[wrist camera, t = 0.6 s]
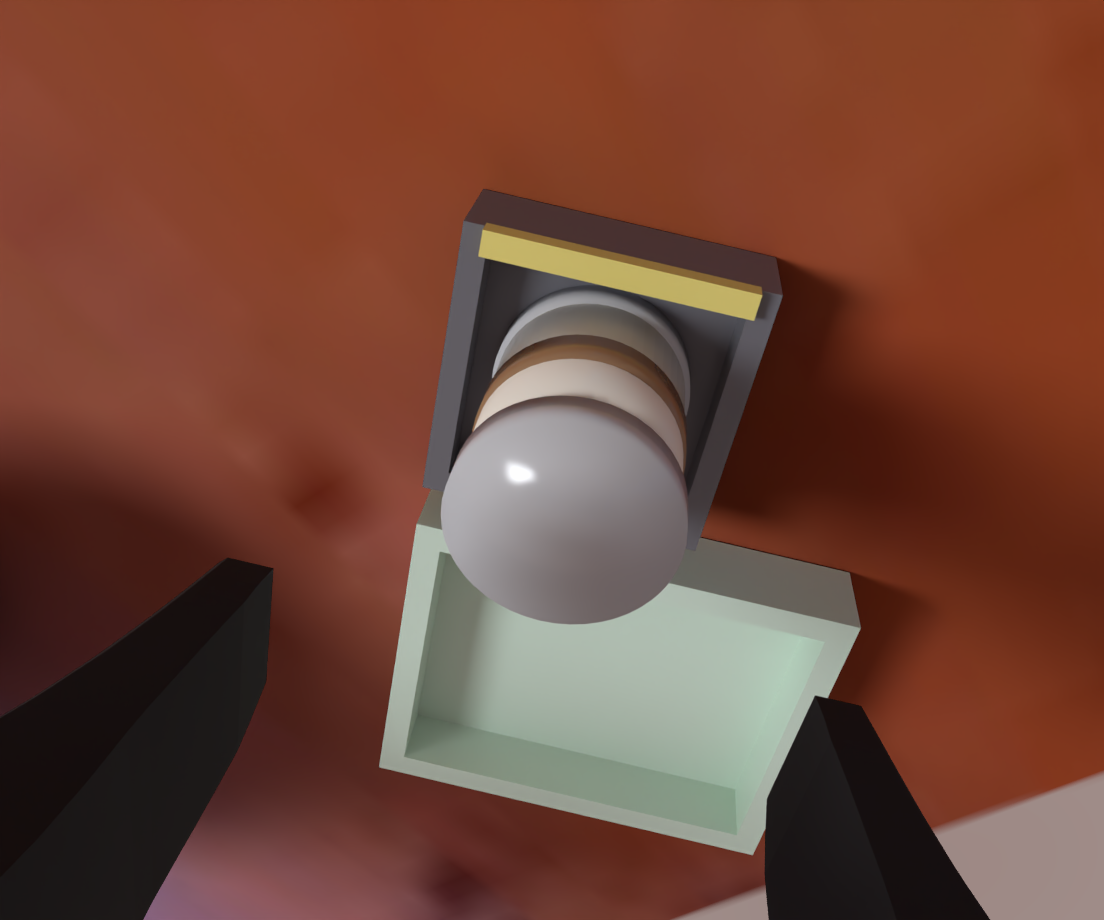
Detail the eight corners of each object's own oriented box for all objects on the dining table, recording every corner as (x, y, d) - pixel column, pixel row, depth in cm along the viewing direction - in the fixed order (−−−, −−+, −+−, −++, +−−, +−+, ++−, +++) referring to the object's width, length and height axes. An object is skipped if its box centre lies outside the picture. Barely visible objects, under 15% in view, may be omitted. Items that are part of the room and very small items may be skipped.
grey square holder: (776, 256, 20) (784, 300, 19) (695, 499, 24) (695, 557, 22) (483, 188, 20) (461, 224, 19) (442, 440, 24) (419, 493, 22)
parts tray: (849, 572, 24) (860, 627, 22) (749, 794, 28) (752, 855, 27) (436, 475, 24) (417, 523, 22) (397, 711, 28) (378, 767, 27)
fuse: (713, 311, 20) (718, 454, 15) (663, 477, 22) (652, 647, 18) (515, 264, 20) (459, 393, 15) (483, 435, 22) (426, 593, 18)
